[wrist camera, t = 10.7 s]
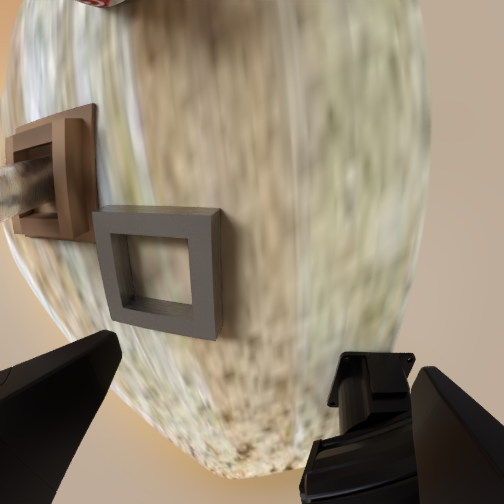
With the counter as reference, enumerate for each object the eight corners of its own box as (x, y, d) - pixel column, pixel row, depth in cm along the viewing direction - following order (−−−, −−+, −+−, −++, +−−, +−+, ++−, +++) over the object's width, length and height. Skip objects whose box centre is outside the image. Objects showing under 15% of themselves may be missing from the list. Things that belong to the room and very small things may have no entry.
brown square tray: (102, 241, 21) (84, 252, 19) (27, 235, 23) (11, 242, 21) (95, 103, 17) (74, 102, 15) (18, 128, 19) (0, 130, 17)
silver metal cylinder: (65, 201, 20) (-42, 248, 10) (39, 202, 21) (-57, 244, 11) (62, 153, 19) (-53, 182, 8) (35, 158, 19) (-66, 187, 9)
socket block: (222, 325, 22) (215, 340, 20) (123, 308, 23) (111, 320, 21) (220, 208, 18) (210, 215, 17) (107, 205, 20) (91, 211, 18)
